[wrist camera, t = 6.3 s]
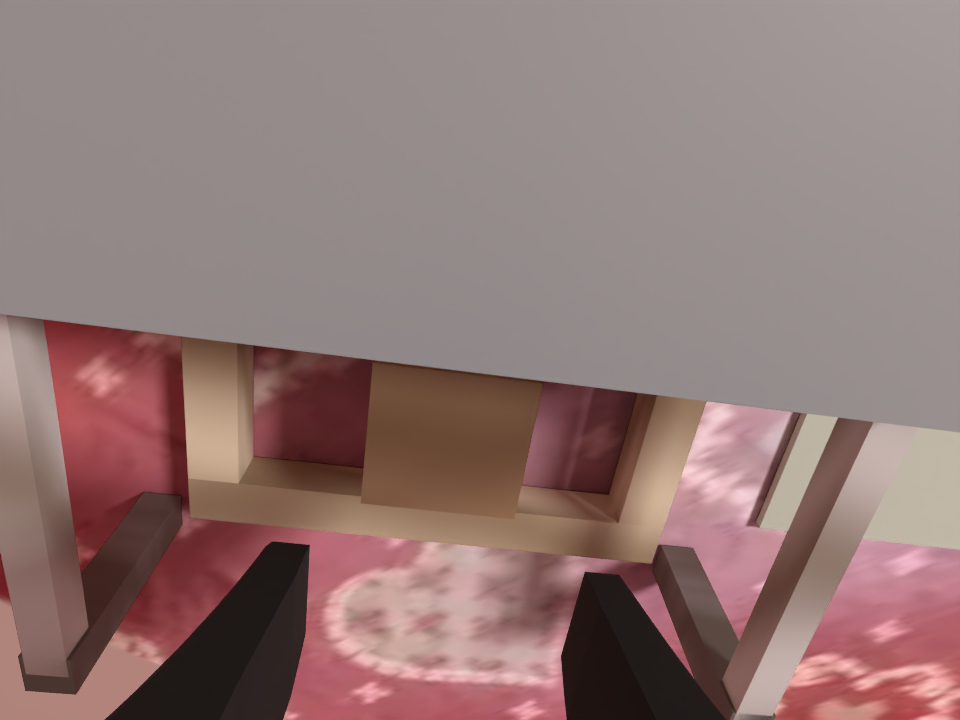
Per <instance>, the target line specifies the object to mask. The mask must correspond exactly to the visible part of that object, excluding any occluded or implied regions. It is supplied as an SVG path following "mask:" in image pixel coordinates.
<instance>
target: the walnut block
mask: <svg viewBox="0 0 960 720" xmlns="http://www.w3.org/2000/svg"><path fill="white" fill-rule="evenodd" d="M542 387H543V381H539V380H531V379H523V378H514V377H506V376H498V375H490V374H482V373H474V372H466V371H458V370H450V369H442V368H433V367H425V366H417V365H409V364H401V363H393V362H385V361H377V360H373V365H372V377H371V388H370V400H369V412H368V423H367V435H366V446H365V458H364V470H363V481H362V493H361V504H371V505H380V506H390V507H400V508H410V509H419V510H429V511H439V512H448V513H458V514H468V515H477V516H487V517H497V518H506V519H514V518H515V514H516V509H517V504H518V500H519V495H520V490H521V486H522V481H523V476H524V471H525V467H526V462H527V457H528V453H529V448H530V443H531V439H532V434H533V429H534V424H535V420H536V415H537V410H538V406H539V401H540V396H541V392H542Z"/></svg>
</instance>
